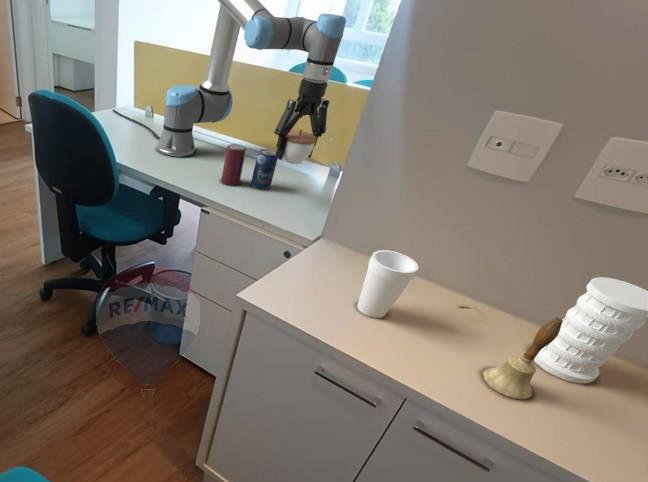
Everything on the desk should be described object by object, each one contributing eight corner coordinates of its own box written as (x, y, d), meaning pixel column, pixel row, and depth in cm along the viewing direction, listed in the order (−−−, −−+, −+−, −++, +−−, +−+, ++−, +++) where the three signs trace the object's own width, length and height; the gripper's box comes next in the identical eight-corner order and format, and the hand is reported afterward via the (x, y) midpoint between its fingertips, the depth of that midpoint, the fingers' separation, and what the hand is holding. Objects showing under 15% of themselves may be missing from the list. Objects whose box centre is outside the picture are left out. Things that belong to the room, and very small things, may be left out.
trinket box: (310, 168, 139) (320, 137, 133) (275, 163, 140) (283, 132, 134) (307, 157, 147) (317, 127, 141) (275, 152, 148) (283, 122, 142)
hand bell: (487, 391, 85) (540, 327, 75) (479, 364, 91) (527, 301, 81) (536, 405, 83) (597, 341, 73) (524, 376, 89) (579, 313, 79)
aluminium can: (217, 179, 160) (223, 144, 152) (233, 178, 163) (240, 143, 155) (226, 186, 156) (233, 150, 148) (242, 185, 158) (250, 149, 150)
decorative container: (609, 383, 89) (685, 312, 78) (558, 383, 88) (627, 312, 77) (564, 345, 98) (626, 276, 87) (516, 345, 97) (573, 275, 85)
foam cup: (345, 296, 107) (366, 248, 99) (383, 299, 107) (407, 251, 99) (358, 320, 100) (382, 271, 92) (398, 323, 100) (426, 274, 92)
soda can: (255, 190, 155) (264, 155, 147) (247, 183, 160) (254, 148, 152) (273, 190, 157) (282, 155, 149) (264, 182, 162) (272, 148, 154)
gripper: (290, 83, 122) (270, 163, 136) (354, 82, 130) (328, 159, 144) (274, 77, 127) (256, 155, 141) (337, 77, 135) (313, 151, 149)
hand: (293, 157), depth 143 cm, fingers closed on trinket box, 11 cm apart
